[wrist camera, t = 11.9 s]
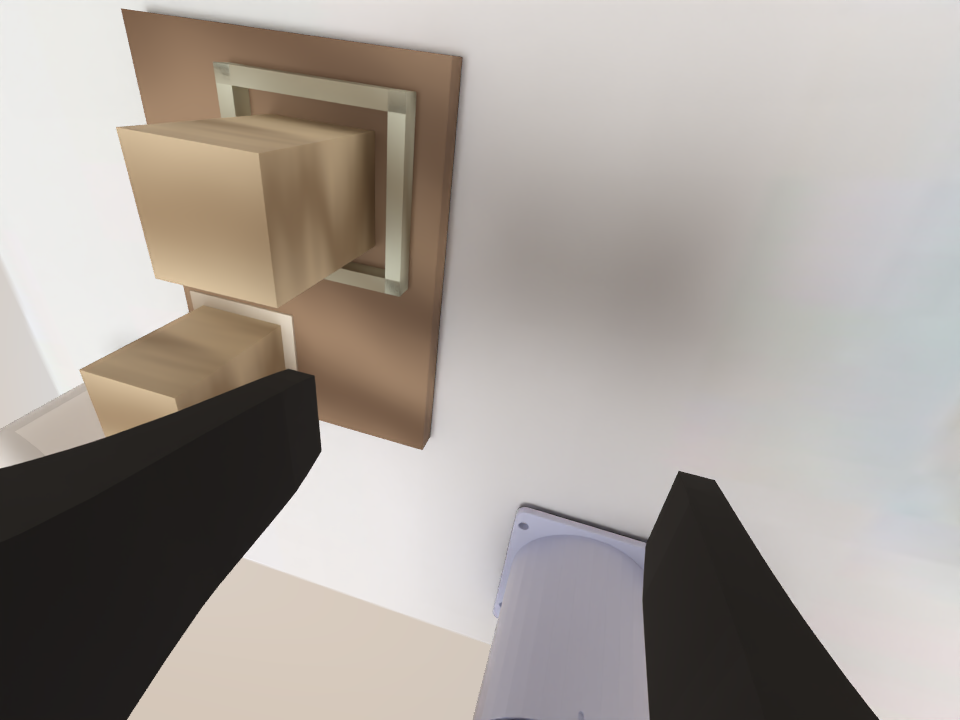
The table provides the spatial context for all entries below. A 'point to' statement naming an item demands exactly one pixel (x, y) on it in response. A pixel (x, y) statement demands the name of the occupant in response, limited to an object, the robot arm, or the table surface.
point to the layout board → (343, 294)
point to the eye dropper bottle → (51, 428)
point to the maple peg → (252, 201)
